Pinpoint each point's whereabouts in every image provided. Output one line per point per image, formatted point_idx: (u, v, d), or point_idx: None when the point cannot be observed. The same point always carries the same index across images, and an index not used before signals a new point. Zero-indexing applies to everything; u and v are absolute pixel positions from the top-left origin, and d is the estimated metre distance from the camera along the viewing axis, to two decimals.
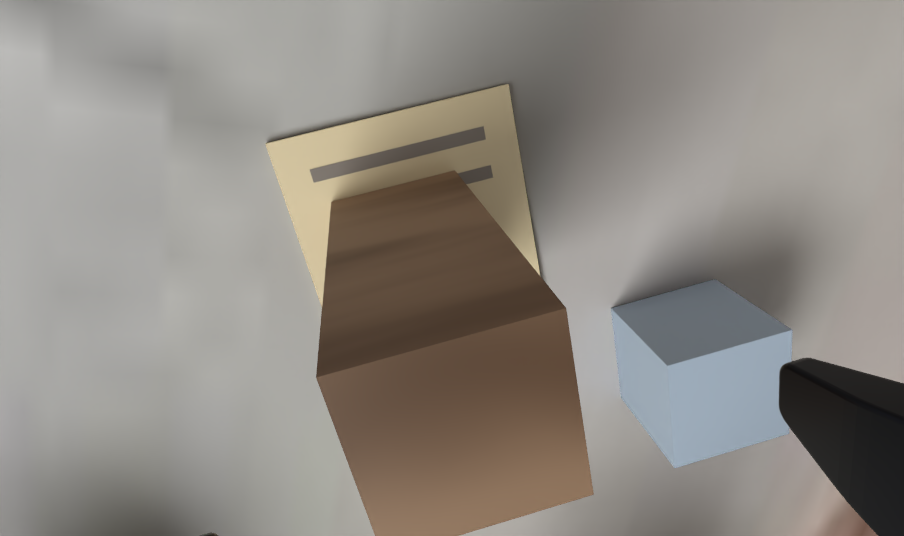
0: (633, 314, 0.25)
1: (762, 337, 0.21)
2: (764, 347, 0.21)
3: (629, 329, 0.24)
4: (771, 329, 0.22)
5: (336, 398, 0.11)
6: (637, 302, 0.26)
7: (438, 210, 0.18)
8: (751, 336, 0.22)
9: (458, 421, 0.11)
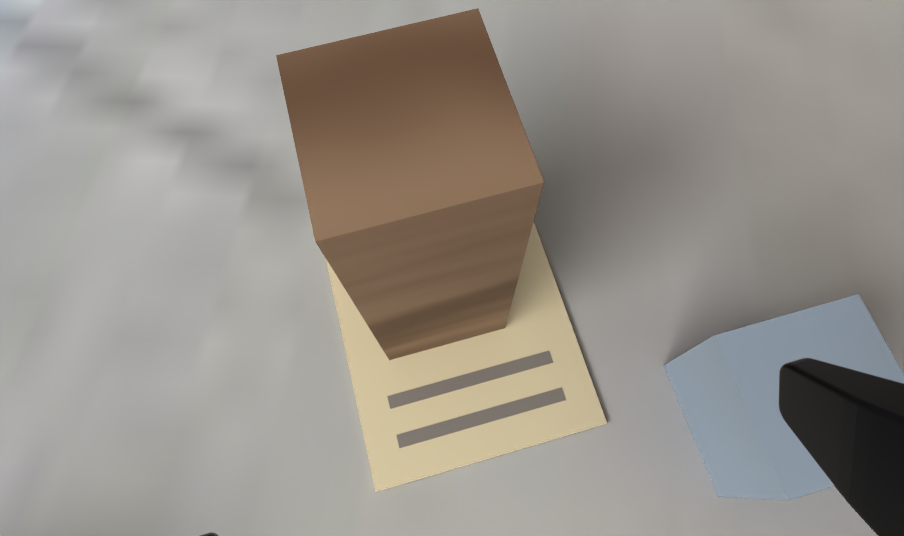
0: None
1: (823, 304, 0.18)
2: (833, 315, 0.18)
3: (680, 359, 0.21)
4: None
5: (289, 72, 0.13)
6: None
7: None
8: (811, 308, 0.19)
9: (392, 95, 0.13)
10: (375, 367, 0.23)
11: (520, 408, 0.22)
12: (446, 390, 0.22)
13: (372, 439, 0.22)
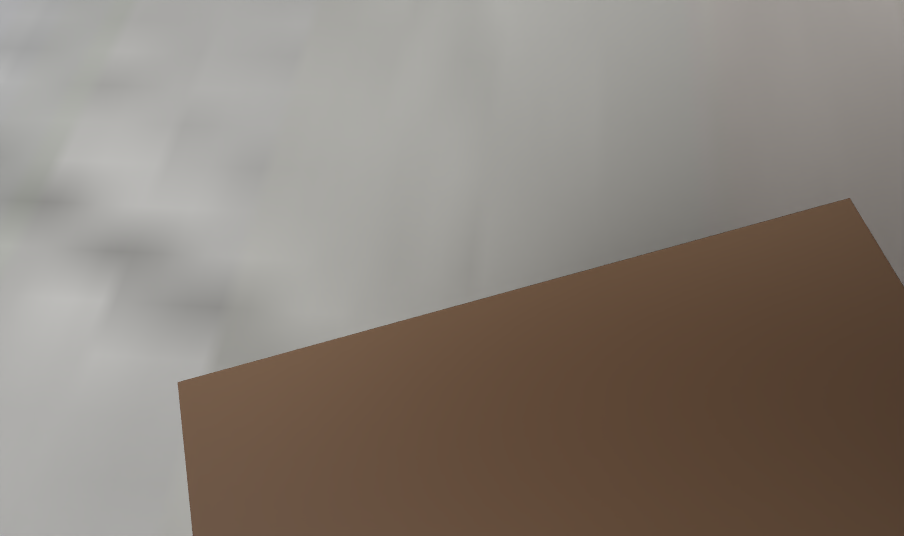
0: None
1: None
2: None
3: None
4: None
5: (221, 460, 0.04)
6: None
7: None
8: None
9: None
10: None
11: None
12: None
13: None
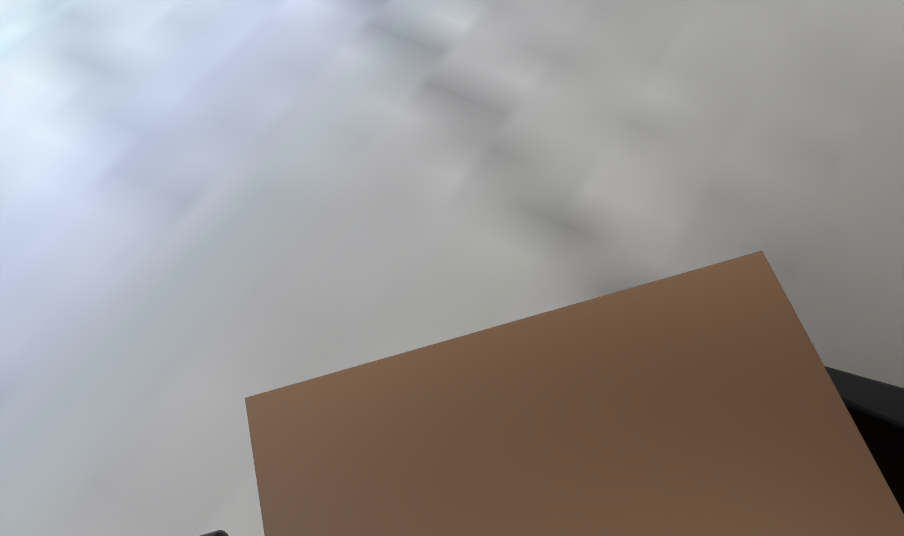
0: None
1: None
2: None
3: None
4: None
5: (280, 457, 0.05)
6: None
7: None
8: None
9: None
10: None
11: None
12: None
13: None
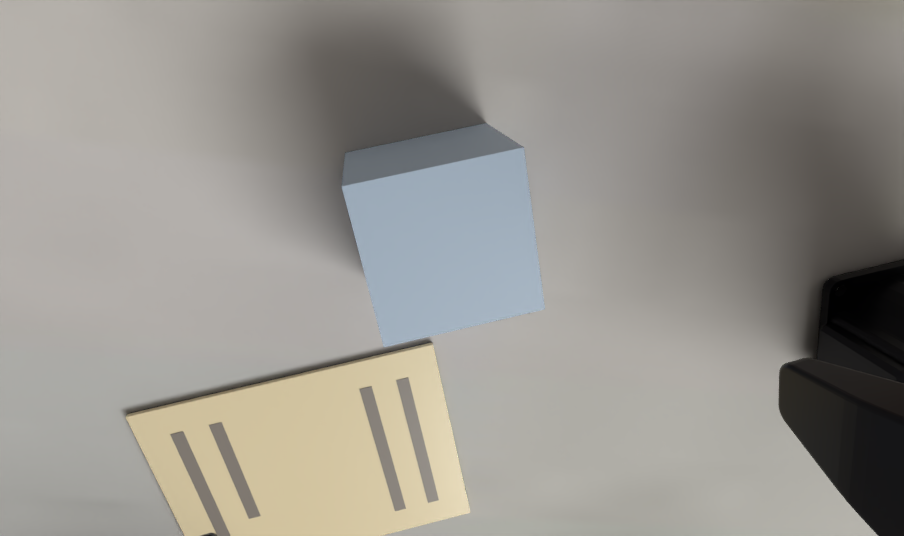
0: None
1: (352, 227, 0.16)
2: (367, 222, 0.16)
3: None
4: None
5: None
6: None
7: None
8: (354, 233, 0.16)
9: None
10: (369, 520, 0.25)
11: (413, 414, 0.24)
12: (392, 470, 0.25)
13: (429, 518, 0.26)
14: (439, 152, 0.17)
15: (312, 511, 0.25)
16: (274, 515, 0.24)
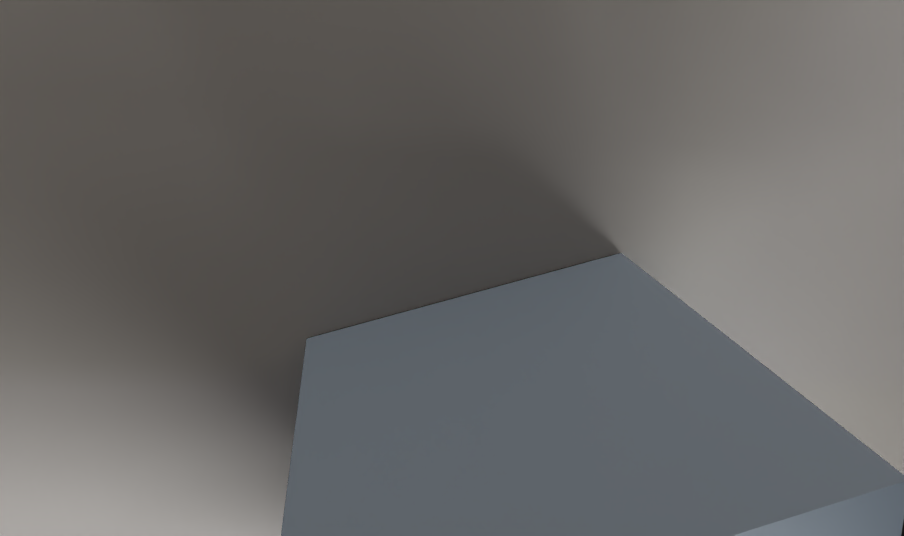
0: None
1: None
2: None
3: None
4: None
5: None
6: None
7: None
8: None
9: None
10: None
11: None
12: None
13: None
14: (569, 424, 0.06)
15: None
16: None
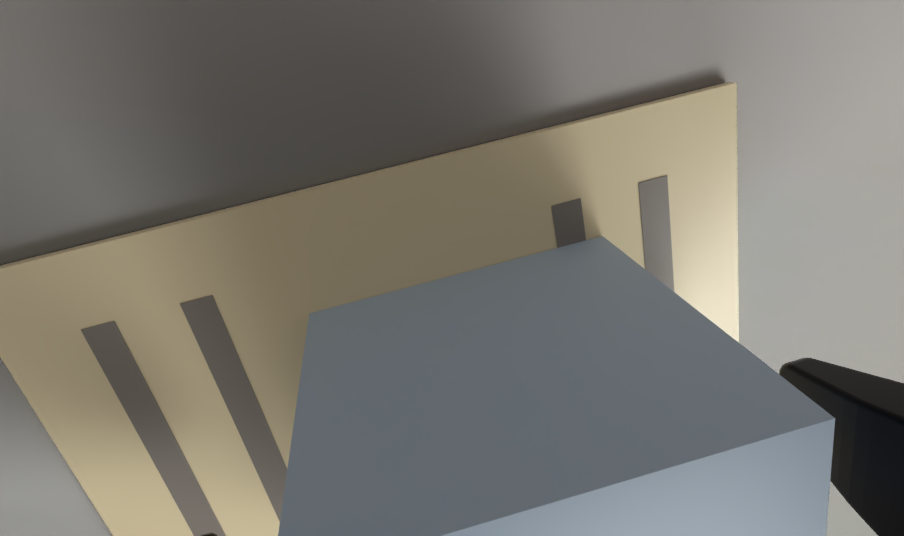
0: None
1: None
2: None
3: None
4: None
5: None
6: None
7: None
8: None
9: None
10: None
11: (663, 274, 0.10)
12: None
13: None
14: (545, 380, 0.06)
15: None
16: None
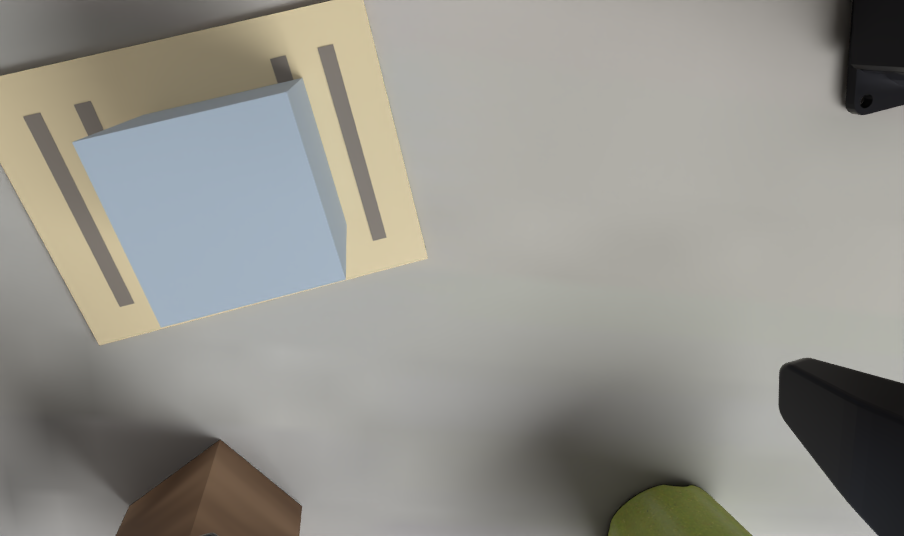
0: None
1: (96, 189, 0.14)
2: (112, 184, 0.14)
3: None
4: None
5: None
6: None
7: None
8: (105, 197, 0.14)
9: None
10: None
11: (343, 103, 0.19)
12: None
13: (377, 263, 0.21)
14: (212, 104, 0.15)
15: None
16: None
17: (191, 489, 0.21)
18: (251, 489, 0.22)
